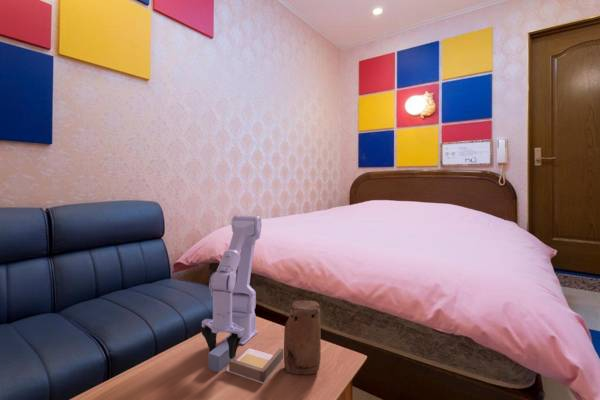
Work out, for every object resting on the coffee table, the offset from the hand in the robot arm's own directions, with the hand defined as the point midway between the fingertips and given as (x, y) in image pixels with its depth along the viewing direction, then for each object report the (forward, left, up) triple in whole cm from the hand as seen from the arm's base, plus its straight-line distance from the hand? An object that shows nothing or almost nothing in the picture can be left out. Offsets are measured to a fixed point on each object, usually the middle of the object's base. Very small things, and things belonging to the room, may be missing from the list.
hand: (222, 353), depth 89 cm
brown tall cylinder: (-8, +23, -3) cm, 25 cm away
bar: (0, 0, -3) cm, 3 cm away
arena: (-4, +10, -3) cm, 11 cm away
